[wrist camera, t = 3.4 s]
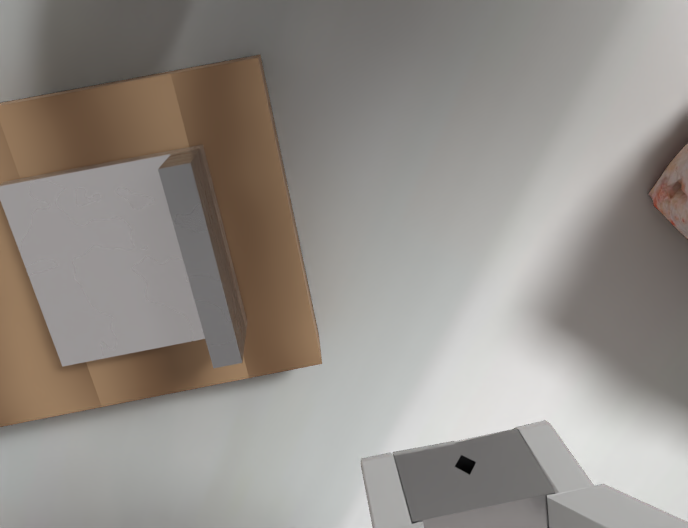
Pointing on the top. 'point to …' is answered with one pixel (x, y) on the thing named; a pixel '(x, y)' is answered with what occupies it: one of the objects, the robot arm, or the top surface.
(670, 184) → the food item
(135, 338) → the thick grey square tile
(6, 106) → the socket
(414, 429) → the top surface
